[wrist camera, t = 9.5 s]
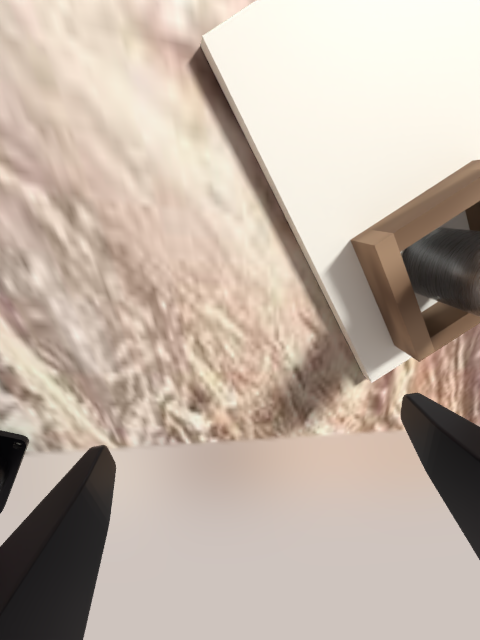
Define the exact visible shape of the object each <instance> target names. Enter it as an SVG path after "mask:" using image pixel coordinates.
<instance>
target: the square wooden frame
mask: <svg viewBox="0 0 480 640" xmlns="http://www.w3.org/2000/svg"><path fill="white" fill-rule="evenodd" d="M463 211H465V212H466V216H467V220H468V224H469V229H470V230H473V231H480V160H473V161H471V162H470V163H468V164H466V165H465V166H463V167H462V168H460V169H459V170H457V171H456V172H454V173H453V174H451V175H449V176H448V177H446V178H445V179H443V180H442V181H440V182H439V183H437V184H436V185H434V186H433V187H431V188H429V189H428V190H426V191H425V192H423V193H422V194H420V195H419V196H417V197H416V198H414V199H413V200H411V201H409V202H408V203H406V204H405V205H403V206H402V207H400V208H399V209H397V210H396V211H394V212H392V213H391V214H389V215H388V216H386V217H385V218H383V219H382V220H380V221H379V222H377V223H376V224H374V225H372V226H371V227H369V228H368V229H366V230H365V231H363V232H362V233H360V234H359V235H357V236H355V237H354V238H352V239H351V240H350V241H351V243H352V245H353V248H354V250H355V253H356V255H357V257H358V260H359V262H360V265H361V267H362V269H363V272H364V274H365V277H366V279H367V281H368V284H369V286H370V289H371V291H372V293H373V296H374V298H375V300H376V303H377V305H378V308H379V310H380V312H381V315H382V317H383V320H384V322H385V324H386V327H387V329H388V332H389V334H390V336H391V339H392V341H393V344H394V346H396V347H397V348H399V349H400V350H402V351H404V352H405V353H407V354H408V355H410V356H411V357H413V358H414V359H416V360H418V361H419V362H420V361H421V360H423V359H424V358H426V357H427V356H429V355H431V354H432V353H434V352H435V351H437V350H438V349H440V348H441V347H443V346H445V345H446V344H448V343H449V342H451V341H452V340H454V339H456V338H457V337H459V336H460V335H462V334H463V333H465V332H466V331H468V330H470V329H471V328H473V327H474V326H476V325H477V324H479V323H480V317H479V316H476V315H473V314H470V313H468V312H465V311H462V310H460V309H457V308H454V307H452V306H449V305H446V304H444V303H441V302H437V303H435V304H434V305H432V306H430V307H429V308H427V309H426V310H424V311H423V312H421V310H420V308H419V305H418V302H417V299H416V296H415V293H414V290H413V288H412V285H411V282H410V279H409V276H408V273H407V271H406V268H405V265H404V262H403V259H402V256H401V253H400V252H401V251H403V250H404V249H406V248H407V247H409V246H410V245H412V244H414V243H415V242H417V241H418V240H420V239H421V238H423V237H424V236H426V235H427V234H429V233H431V232H432V231H434V230H435V229H437V228H438V227H440V226H441V225H443V224H444V223H446V222H448V221H449V220H451V219H452V218H454V217H455V216H457V215H458V214H460V213H461V212H463Z"/></svg>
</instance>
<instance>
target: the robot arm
mask: <svg viewBox="0 0 480 640" xmlns="http://www.w3.org/2000/svg"><path fill="white" fill-rule="evenodd" d="M401 420H402V423H403V425H404V427H405V429H406V431H407V433H408V435H409V437H410V440H411V442H412V443H413V446H414V448H415V450H416V452H417V454H418V456H419V458H420V461H421V463H422V464H423V466H424V468H425V471H426V472H427V474H428V476H429V477H430V479H431V481H432V482H433V484H434V486H435V487H436V489H437V490H438V492H439V494H440V496H441V497H442V499H443V500H444V502H445V504H446V505H447V507H448V509H449V510H450V512H451V514H452V515H453V517H454V519H455V520H456V522H457V523H458V525H459V527H460V528H461V530H462V532H463V533H464V535H465V537H466V538H467V540H468V541H469V543H470V545H471V546H472V548H473V550H474V551H475V553H476V555H477V556H478V558H479V560H480V427H479V426H477V425H476V424H474V423H472V422H470V421H468V420H467V419H465V418H463V417H461V416H459V415H458V414H456V413H454V412H452V411H450V410H449V409H447V408H445V407H443V406H441V405H440V404H438V403H436V402H434V401H433V400H431V399H429V398H427V397H425V396H424V395H422V394H420V393H412V394H406V395H404V397H403V400H402V407H401ZM17 443H21V444H22V445H19V444H17ZM28 444H29V440H28V438H27V437H26V436H23V435H19V434H15V433H10V432H5V431H1V430H0V513H1V512H2V510H3V509H4V507H5V504H6V502H7V499H8V496H9V494H10V491H11V488H12V486H13V483H14V481H15V478H16V475H17V473H18V470H19V467H20V465H21V462H22V459H23V457H24V454H25V452H26V449H27V446H28ZM115 473H116V465H115V461H114V460H113V457H112V455H111V453H110V451H109V450H108V448H107V446H105V445H101V446H95V447H91V448H90V449H89V450H88V451H87V452H86V453H85V454H84V455H83V457H82V458H81V459H80V460H79V461H78V462H77V463H76V464H75V465H74V466H73V468H72V469H71V470H70V471H69V472H68V473H67V474H66V475H65V476H64V477H63V479H61V481H60V482H59V483H58V484H57V485H56V486H55V487H54V488H53V489H52V490H51V492H50V493H49V494H48V495H47V496H46V497H45V498H44V499H43V500H42V501H41V503H40V504H39V505H38V506H37V507H36V508H35V509H34V510H33V511H32V513H31V514H30V515H29V516H28V517H27V518H26V519H25V520H24V521H23V522H22V524H21V525H20V526H19V527H18V528H17V529H16V530H15V531H14V532H13V533H12V535H11V536H10V537H9V538H8V539H7V540H6V541H5V542H4V543H3V545H1V547H0V640H83V637H84V633H85V629H86V624H87V620H88V615H89V611H90V606H91V602H92V597H93V593H94V589H95V584H96V580H97V576H98V571H99V567H100V563H101V558H102V554H103V549H104V545H105V540H106V536H107V531H108V526H109V521H110V514H111V506H112V498H113V490H114V482H115Z"/></svg>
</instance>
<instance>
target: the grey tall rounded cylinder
mask: <svg viewBox="0 0 480 640" xmlns="http://www.w3.org/2000/svg"><path fill="white" fill-rule="evenodd" d="M402 259H403V262H404V265H405V268H406V271H407V273H408V276H409V279H410V282H411V285H412V288H413V290H414V293H417V294H420V295H422V296H425V297H428V298H430V299H433V300H436V301H438V302H441V303H444V304H446V305H449V306H452V307H454V308H457V309H460V310H462V311H465V312H468V313H470V314H473V315H476V316H479V317H480V231H473V230H463V229H453V228H443V227H438V228H437V229H435V230H434V231H432V232H431V233H429V234H427V235H426V236H424V237H423V238H421V239H420V240H418V241H417V242H415V243H414V244H412V245H410V246H409V247H407V248H406V249H405V250H404V252H403V255H402Z"/></svg>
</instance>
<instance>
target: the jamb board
mask: <svg viewBox="0 0 480 640" xmlns="http://www.w3.org/2000/svg"><path fill="white" fill-rule="evenodd" d="M200 46H201V48H202V50H203V52H204V54H205V56H206V58H207V60H208V62H209V64H210V66H211V68H212V70H213V72H214V75H215V77H216V79H217V81H218V83H219V85H220V87H221V89H222V91H223V93H224V95H225V97H226V99H227V101H228V103H229V105H230V107H231V109H232V111H233V113H234V115H235V117H236V119H237V121H238V123H239V125H240V127H241V129H242V131H243V133H244V135H245V137H246V139H247V141H248V143H249V145H250V147H251V149H252V151H253V153H254V155H255V157H256V159H257V161H258V163H259V165H260V167H261V169H262V171H263V173H264V175H265V177H266V179H267V181H268V183H269V185H270V187H271V189H272V191H273V193H274V195H275V197H276V199H277V201H278V203H279V205H280V207H281V209H282V211H283V213H284V216H285V218H286V220H287V222H288V224H289V226H290V228H291V230H292V232H293V234H294V236H295V238H296V240H297V242H298V244H299V246H300V248H301V250H302V252H303V254H304V256H305V258H306V260H307V262H308V264H309V266H310V268H311V270H312V272H313V274H314V276H315V278H316V280H317V282H318V284H319V286H320V288H321V290H322V292H323V294H324V296H325V298H326V300H327V302H328V304H329V306H330V308H331V310H332V312H333V314H334V316H335V318H336V320H337V322H338V324H339V326H340V328H341V330H342V332H343V334H344V336H345V338H346V340H347V342H348V344H349V346H350V348H351V350H352V352H353V354H354V357H355V359H356V361H357V363H358V365H359V367H360V369H361V371H362V373H363V375H364V376H365V377H366V378H367V379H368V380H369V381H370V382H371V383H372V382H374V381H375V380H377V379H378V378H380V377H382V376H383V375H385V374H386V373H388V372H389V371H391V370H392V369H394V368H396V367H397V366H399V365H400V364H402V363H403V362H405V361H407V360H408V359H410V358H411V356H410V355H408V354H407V353H405V352H404V351H402V350H400V349H399V348H397V347H396V346H394V344H393V341H392V339H391V336H390V334H389V332H388V329H387V327H386V324H385V322H384V320H383V317H382V315H381V312H380V310H379V308H378V305H377V303H376V300H375V298H374V296H373V293H372V291H371V289H370V286H369V284H368V281H367V279H366V277H365V274H364V272H363V269H362V267H361V265H360V262H359V260H358V257H357V255H356V253H355V250H354V248H353V245H352V243H351V241H350V240H351V239H352V238H354V237H355V236H357V235H359V234H360V233H362V232H363V231H365V230H366V229H368V228H369V227H371V226H372V225H374V224H376V223H377V222H379V221H380V220H382V219H383V218H385V217H386V216H388V215H389V214H391V213H392V212H394V211H396V210H397V209H399V208H400V207H402V206H403V205H405V204H406V203H408V202H409V201H411V200H413V199H414V198H416V197H417V196H419V195H420V194H422V193H423V192H425V191H426V190H428V189H429V188H431V187H433V186H434V185H436V184H437V183H439V182H440V181H442V180H443V179H445V178H446V177H448V176H449V175H451V174H453V173H454V172H456V171H457V170H459V169H460V168H462V167H463V166H465V165H466V164H468V163H470V162H471V161H473V160H480V0H256V1H255V2H253V3H252V4H250V5H249V6H247V7H246V8H244V9H242V10H241V11H239V12H238V13H236V14H235V15H233V16H232V17H230V18H229V19H227V20H226V21H224V22H223V23H221V24H220V25H218V26H217V27H215V28H214V29H212V30H211V31H209V32H208V33H206V34H205V35H203V36H202V40H201V44H200ZM440 227H443V228H453V229H463V230H470V229H469V224H468V220H467V216H466V212H465V211H463V212H461V213H460V214H458V215H457V216H455V217H454V218H452V219H451V220H449V221H448V222H446V223H444V224H443V225H441V226H440ZM404 250H405V249H404ZM404 250H403V251H401V252H400V253H401V256H402V255H403V252H404ZM415 296H416V299H417V302H418V305H419V308H420V310H421V312H423V311H424V310H426V309H427V308H429V307H430V306H432V305H434V304H435V303H437V302H438V301H436V300H433V299H430V298H428V297H425V296H422V295H420V294H417V293H415Z"/></svg>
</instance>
